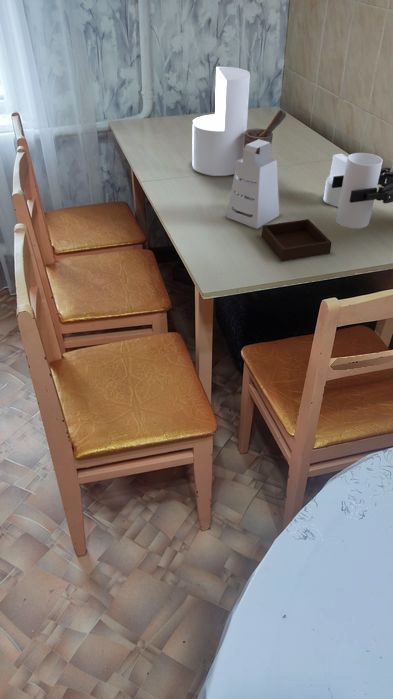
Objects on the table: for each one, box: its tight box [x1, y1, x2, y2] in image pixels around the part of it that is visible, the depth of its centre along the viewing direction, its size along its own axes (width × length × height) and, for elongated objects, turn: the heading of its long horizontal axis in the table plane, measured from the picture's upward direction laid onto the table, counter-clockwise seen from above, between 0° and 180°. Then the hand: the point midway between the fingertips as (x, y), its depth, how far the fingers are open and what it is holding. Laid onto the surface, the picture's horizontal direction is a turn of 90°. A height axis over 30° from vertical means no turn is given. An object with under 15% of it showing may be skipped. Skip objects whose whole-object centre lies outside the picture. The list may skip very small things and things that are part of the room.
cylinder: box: [191, 65, 251, 177], centre depth 171 cm, size 17×17×28 cm
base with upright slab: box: [323, 153, 348, 207], centre depth 156 cm, size 9×9×12 cm
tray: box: [260, 218, 333, 262], centre depth 137 cm, size 13×13×3 cm
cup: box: [335, 152, 383, 229], centre depth 134 cm, size 8×8×16 cm
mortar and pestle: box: [244, 109, 287, 155], centre depth 168 cm, size 12×9×20 cm
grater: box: [225, 139, 280, 229], centre depth 144 cm, size 10×10×20 cm
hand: (342, 189), depth 132 cm, fingers closed on cup, 8 cm apart
